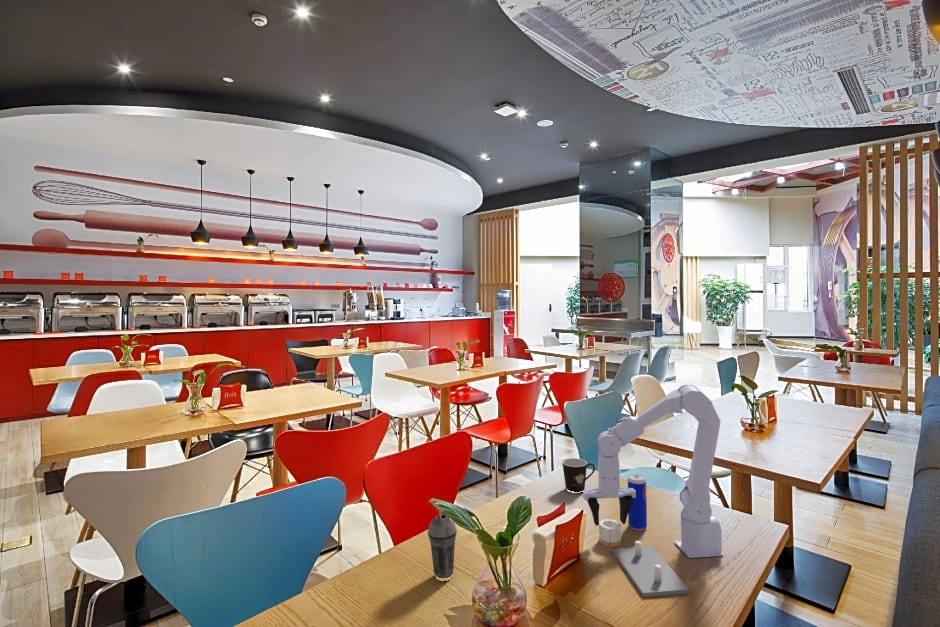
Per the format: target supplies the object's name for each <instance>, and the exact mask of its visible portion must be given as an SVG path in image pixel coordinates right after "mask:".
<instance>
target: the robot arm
mask: <svg viewBox="0 0 940 627" xmlns="http://www.w3.org/2000/svg"><path fill="white" fill-rule="evenodd" d="M683 410H684V411H685V412H686V413H688V414H689V415H691V416H692V417H694V418H695V420H696V421H697V423H698V424H697V430H696V437H695V442H694V445H693V446H694V448H693V453H692V458H691V464H690V470H689V474H688V476H689V477H688V478H687V479H686V481H685V484H684V487H683V489H681V491H680V492H679V501H680V502H681V505H682V506H683V508H682V510H681V512H680V540H674V544H675V545H676V546H677V547H678V548H679V549H680V550H681V551H682V552H683V553H684V554H685V555H686V556H687V557H688V558H690V559H695V558H708V557H709V558H710V557H722V556H724V552H722V549H723V548H722V547H723V545H722V544H723V542H722V541H723V540H722V539H723V538H722V535H723V534H722V527H721V524H720V521H719V520H718V518H717V517H716V516H715V515H713V512H712V506H711V492H710V491H711V490H710V483H711V477H712V471H713V466H714V461H715V455H716V450H717V445H718V439H719V434H720V428H721V419H720V417H719V415H718V413H717V411H716V409H715V406H714V404H713V401H712V400H711V399H710V398H709V397H708V396H706V394H705V393H703V392H702V391H701V390H700V389H699V388H698V387H697V386H695V385H693V384H690V383H689V384H687V383H686V384H683V385H681V386H679V388H678V389H674V390H672V391H670V392H669V393H668V394H666V395H665V396H664V397H662V398H661V399H660V400H659V401H657V402H656V403H655V404H652V406H650V407H649V408H647V409H646V410H645V411H643V412H642V413H640V414H639V415H638V416H633V415H632V416H631V415H630V416H627V417H626V416H623V417H622V418H621V421H620V422H619V423H617V424H616V425H614V426H612V427H611V426H610V427H608V428H607V430H606V431H605V430H604V431H602V432H601V433H600V434H598V438H597V440H596V441H597V448H598V458H597V462H598V463H597V471H598V473H597V474H598V475H597V476H598V487H597V488H591V489H589V490H588V489H587V490H584V491H583V493H582V498H583V500H584V501H586V502H587V504H588V506H589V509H590V512H591V514H592V519H593V523H594V524H595V526H596V527H597V526H598V527H599V522H600V517H599V516H600V515H599V513H600V504H599V501H598V499H617V498H618V499H619V500H618V502H619V520H620V522H621V524H622V525H625V524H626V523H627V518H628V512H629V510H630V508H631V507H632V505H633V503H634V500H633V499H632V498H636V491H635V490H634V489H633V488H628V487H621V482H620V480H621V479H620V478H621V476H620V475H621V474H620V459H619V454H620V451H621V448H623V447H625V446H627V445H628V444H630V443H631V442H633V441H635V440H636V439H638V438H640V437H641V436H643V435H644V431H645V428H646V427H647V426H649V425H651V424H653V423H655V422H657V421H658V420H660V419H661V418H663V417H665V416H667V415H669V414H670V413H672V414H684V412H683Z"/></svg>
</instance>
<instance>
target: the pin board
mask: <svg viewBox="0 0 940 627" xmlns="http://www.w3.org/2000/svg"><path fill="white" fill-rule="evenodd" d="M611 552H612V554H613V555H614V557H615V558H616V560H617V561H618V563H619V565H621V567H622V569H623V570H624V572H625V573H626V574H627V577H629V579H630V580H631V582H632V583H633V584H634V585H633V586H635V588H636V589H637V591H638V592H639V593H640V595H641V596H642V598H647V597H648V598H651V597H652V598H653V597H660V596H661V597H662V596H663V597H664V596H674V595H686V594H687V595H688V594H690V588H689V587H688V586H687V585H686V584H685V583H684V581H683V580H682V579H681V578H680V577H679V576H678V575H677V573H676V572H675V570H673V569H672V568H671V566H670V565H669V564H668V563H667V562H666V561H665V559H663V557H662V556H661V555H660V554H659V552H658V551H657V550H656V549H655V548H654V547H653V546H652V545H648V546H642V542H641V541H640V540H635V541H634V546H633V547H622V548H621V547H620V548H617V547H616V548H612V549H611Z"/></svg>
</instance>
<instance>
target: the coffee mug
mask: <svg viewBox="0 0 940 627" xmlns="http://www.w3.org/2000/svg"><path fill="white" fill-rule="evenodd" d="M561 463H562V470H563V476H564V483H565V484H564V485H565V489H566V488H567V489H568V490H570V491H574V492H580V491H583V490H584V489H585V488H586V481H587V480H588V479H589V478H591V476H592V475H593V474H594V473H595V471H596V466H595V465H594V464H593V463H588V461H586V459H585V460H584V459H581V458H577V457H576V458H575V457H573V458H572V457H571V458H565V459H563V460H562V462H561ZM589 466H592V471H591V473H589V475H587V468H588V467H589ZM584 491H585V490H584Z"/></svg>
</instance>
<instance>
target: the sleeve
mask: <svg viewBox="0 0 940 627" xmlns="http://www.w3.org/2000/svg"><path fill="white" fill-rule="evenodd" d="M598 532H599V533H598V538H599V539H598V540H599V542H600V543H601V545H603V546H606V547H608V548H609V547H610V548H617V547H619V546H621V544H622V524H621V523H620V522H619V521H618V520H615V519H608V518H607V519H606V518H605V519H602V520H599V525H598Z"/></svg>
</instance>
